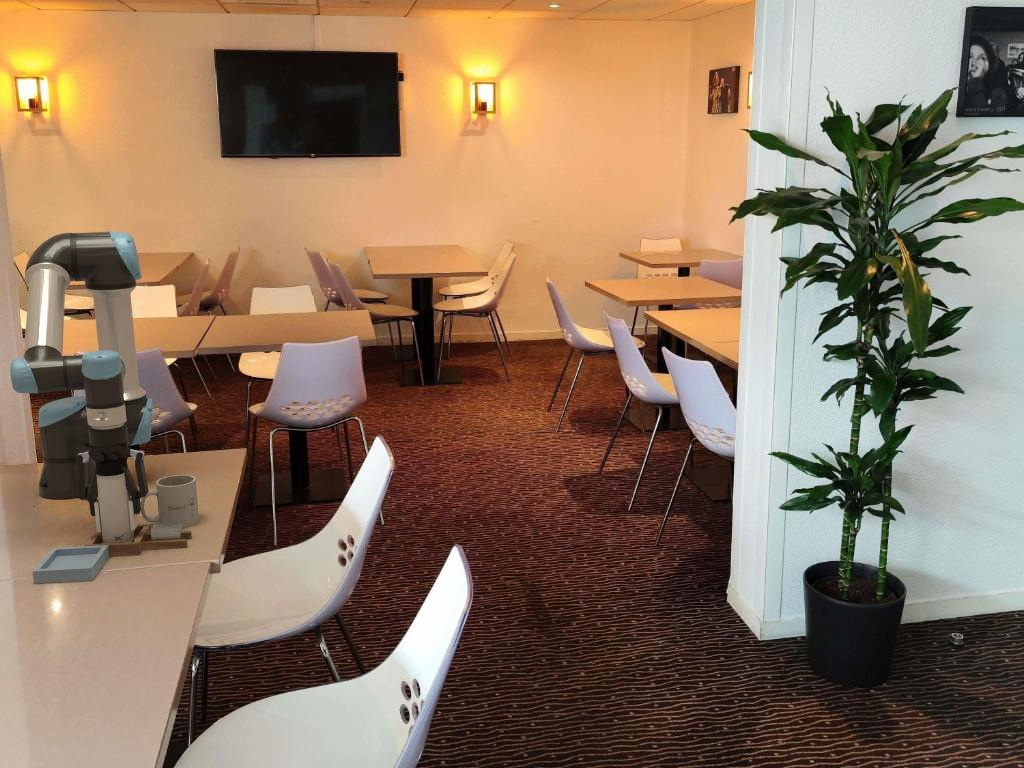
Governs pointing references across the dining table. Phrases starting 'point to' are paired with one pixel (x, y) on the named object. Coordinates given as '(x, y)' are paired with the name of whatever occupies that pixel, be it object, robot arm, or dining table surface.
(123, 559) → the dining table surface
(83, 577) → the tray
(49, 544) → the dining table surface
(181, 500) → the mug
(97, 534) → the brown flat open frame
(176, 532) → the light gray block
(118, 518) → the travel mug
